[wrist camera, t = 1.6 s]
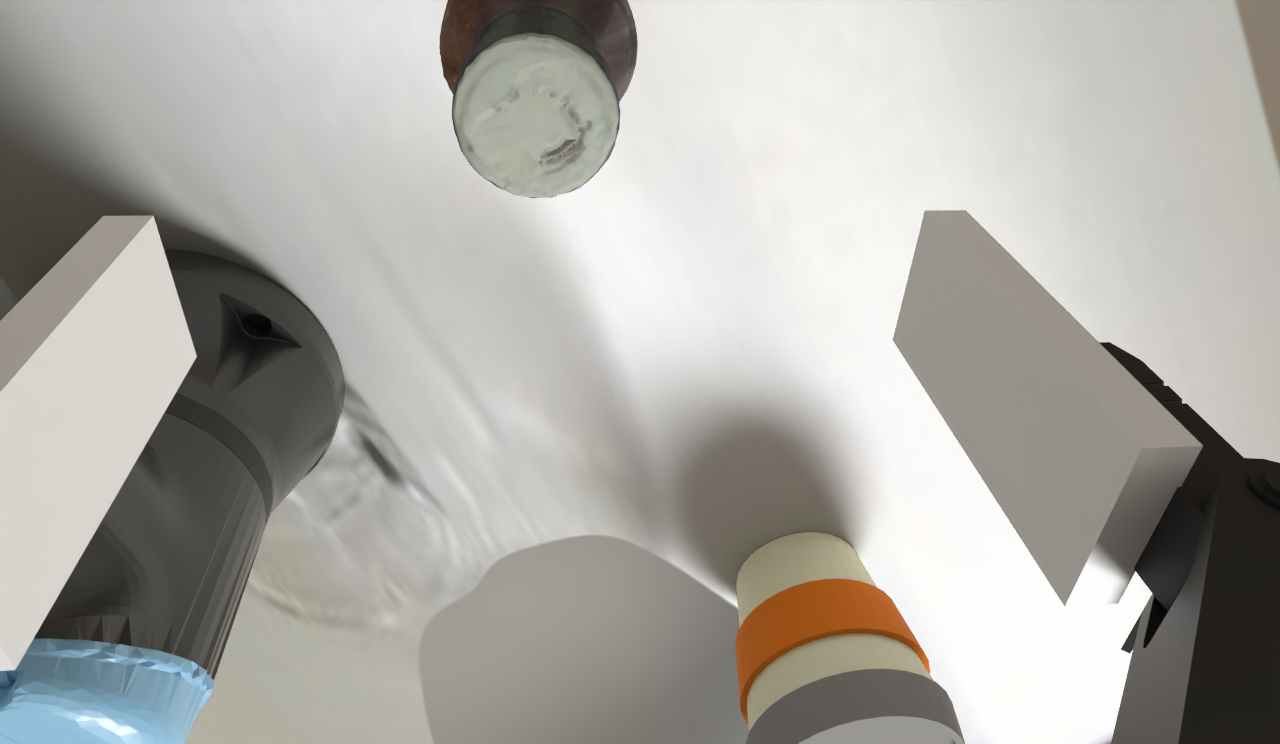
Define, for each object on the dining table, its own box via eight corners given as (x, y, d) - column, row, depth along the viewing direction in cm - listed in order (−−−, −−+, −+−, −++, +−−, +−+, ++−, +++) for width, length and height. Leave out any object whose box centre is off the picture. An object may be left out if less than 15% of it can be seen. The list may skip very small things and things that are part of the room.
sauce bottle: (616, 54, 39) (673, 253, 22) (478, 64, 38) (436, 273, 22) (607, -110, 35) (668, -12, 19) (454, -101, 35) (382, 6, 18)
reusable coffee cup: (682, 616, 62) (718, 822, 50) (761, 495, 56) (824, 697, 43) (828, 645, 66) (895, 844, 53) (917, 534, 59) (1016, 731, 47)
